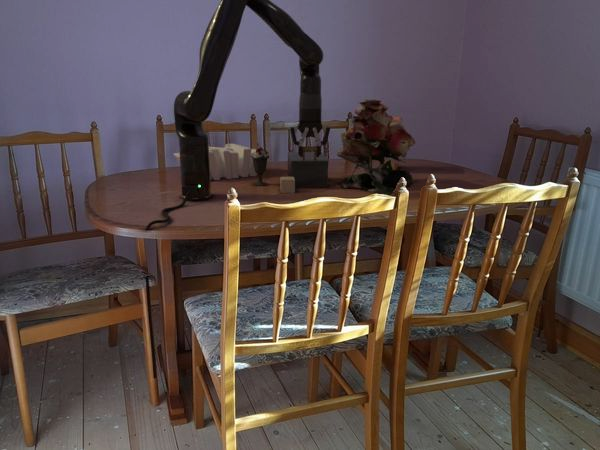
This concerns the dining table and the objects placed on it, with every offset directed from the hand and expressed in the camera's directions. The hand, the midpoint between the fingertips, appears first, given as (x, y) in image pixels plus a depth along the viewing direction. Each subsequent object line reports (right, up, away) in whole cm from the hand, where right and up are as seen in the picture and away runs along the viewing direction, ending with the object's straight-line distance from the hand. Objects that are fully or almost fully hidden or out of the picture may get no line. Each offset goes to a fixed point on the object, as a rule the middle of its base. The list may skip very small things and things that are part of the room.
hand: (309, 156), depth 185 cm
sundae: (-18, -9, +7) cm, 21 cm away
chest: (-1, -8, +10) cm, 13 cm away
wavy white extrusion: (-33, -4, +22) cm, 40 cm away
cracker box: (+34, -1, +35) cm, 49 cm away
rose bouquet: (+22, -9, +9) cm, 26 cm away
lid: (-1, 0, +7) cm, 7 cm away
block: (-8, -12, -3) cm, 15 cm away
